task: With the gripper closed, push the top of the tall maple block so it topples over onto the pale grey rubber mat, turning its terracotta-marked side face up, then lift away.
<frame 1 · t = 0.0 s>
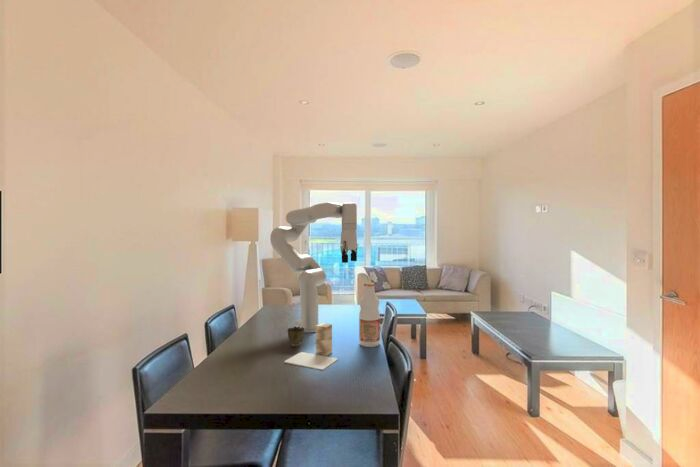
hand: (349, 261, 170), 37 cm above the table, tool pointing down, fingers open, 9 cm apart
fruit juice: (369, 344, 157), on the table
maple block: (324, 353, 146), on the table
cup: (295, 346, 154), on the table
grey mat: (311, 361, 137), on the table
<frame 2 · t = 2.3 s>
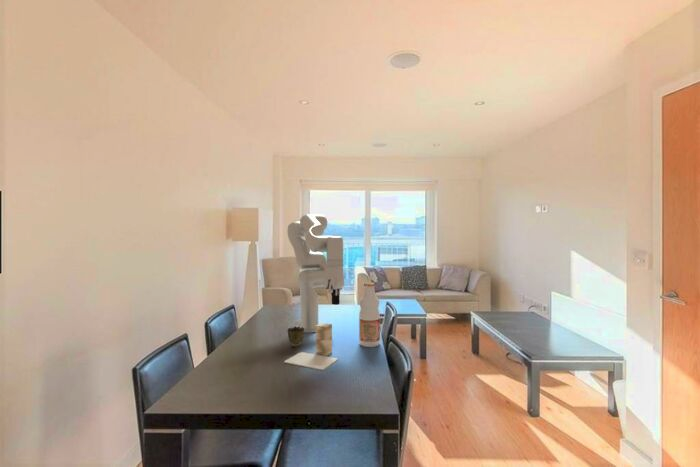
hand: (335, 304, 154), 19 cm above the table, tool pointing down, fingers closed
nothing on the table moved.
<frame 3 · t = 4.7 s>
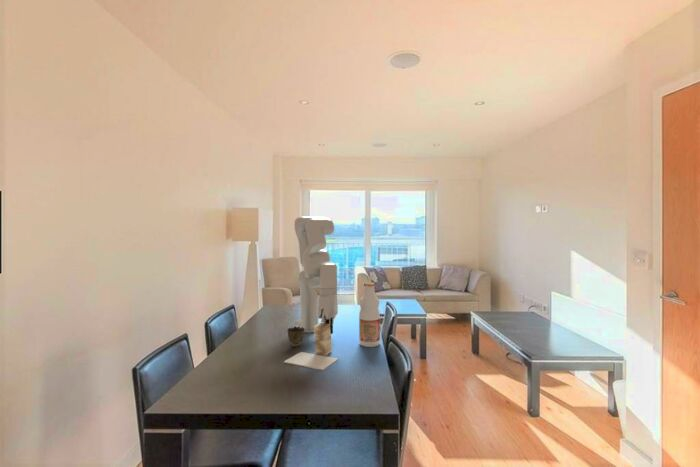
hand: (328, 333, 149), 7 cm above the table, tool pointing down, fingers closed
maple block: (324, 352, 146), on the table, tilted 8°, touching gripper
everything else where it was.
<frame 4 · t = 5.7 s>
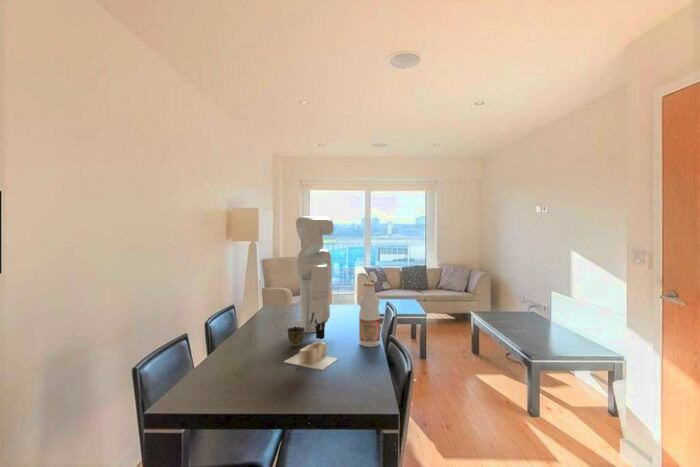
hand: (320, 338, 143), 7 cm above the table, tool pointing down, fingers closed
maple block: (321, 347, 143), point 3 cm above the table, tilted 90°, touching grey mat
everything else where it was.
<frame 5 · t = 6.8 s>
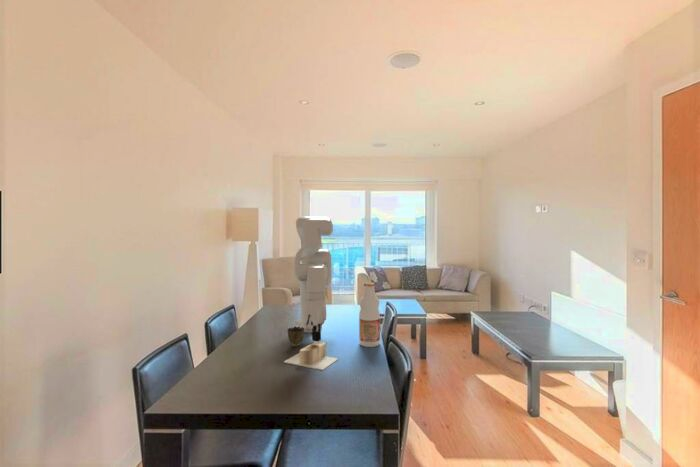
hand: (316, 340, 140), 7 cm above the table, tool pointing down, fingers closed
nothing on the table moved.
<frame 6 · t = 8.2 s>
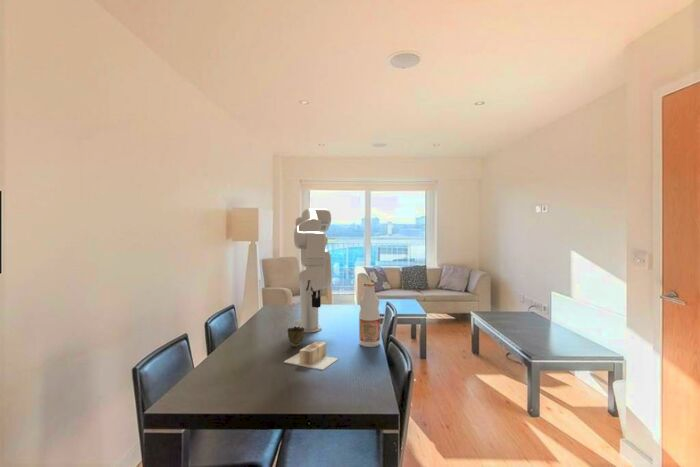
hand: (316, 306, 140), 21 cm above the table, tool pointing down, fingers closed
nothing on the table moved.
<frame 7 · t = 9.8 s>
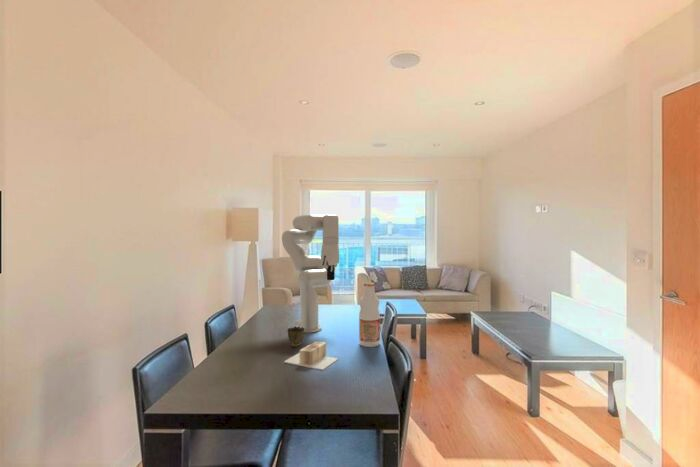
hand: (330, 279, 161), 29 cm above the table, tool pointing down, fingers closed
nothing on the table moved.
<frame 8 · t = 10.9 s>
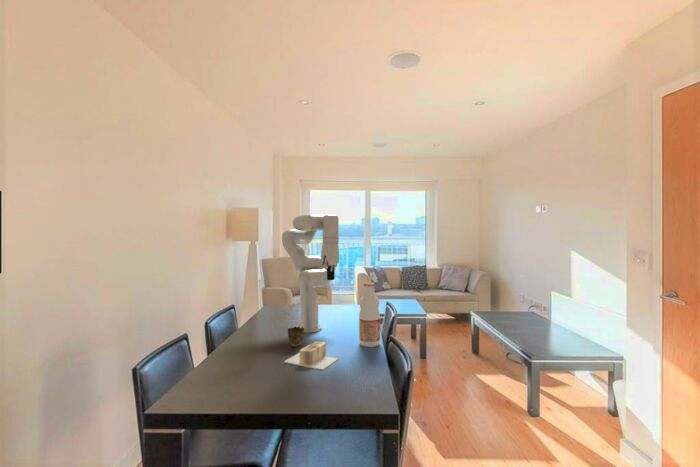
hand: (330, 279, 161), 29 cm above the table, tool pointing down, fingers closed
nothing on the table moved.
at the end: maple block tilted 90°; maple block touching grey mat; the gripper is holding nothing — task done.
